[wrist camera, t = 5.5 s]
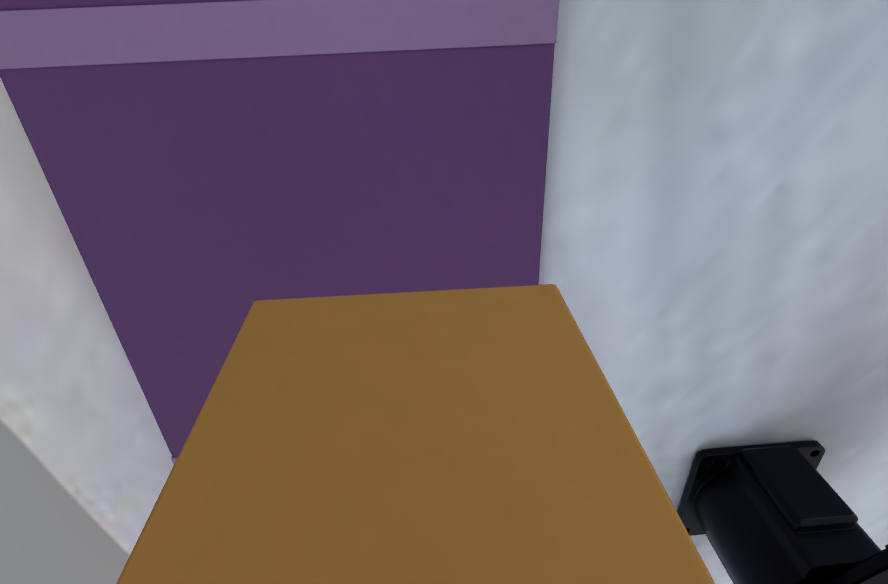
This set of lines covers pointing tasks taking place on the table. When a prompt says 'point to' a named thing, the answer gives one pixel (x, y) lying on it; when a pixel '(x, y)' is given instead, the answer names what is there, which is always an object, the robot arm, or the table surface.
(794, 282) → the table surface
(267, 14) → the towel
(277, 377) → the cheese
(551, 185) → the table surface
